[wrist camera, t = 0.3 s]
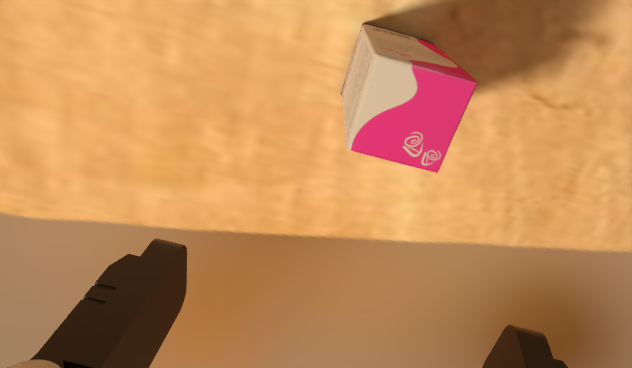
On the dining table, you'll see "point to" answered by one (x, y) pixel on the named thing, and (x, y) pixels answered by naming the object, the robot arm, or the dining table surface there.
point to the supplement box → (403, 98)
